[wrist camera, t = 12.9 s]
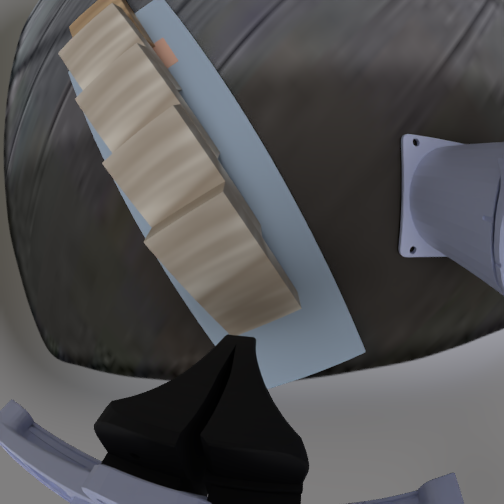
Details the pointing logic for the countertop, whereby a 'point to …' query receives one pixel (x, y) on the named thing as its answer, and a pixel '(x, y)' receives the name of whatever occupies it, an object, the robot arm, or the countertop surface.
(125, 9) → the domino
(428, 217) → the robot arm
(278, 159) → the countertop surface
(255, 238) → the domino
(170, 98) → the domino
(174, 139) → the domino
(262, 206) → the mat
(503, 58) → the countertop surface
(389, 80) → the countertop surface
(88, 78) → the domino
